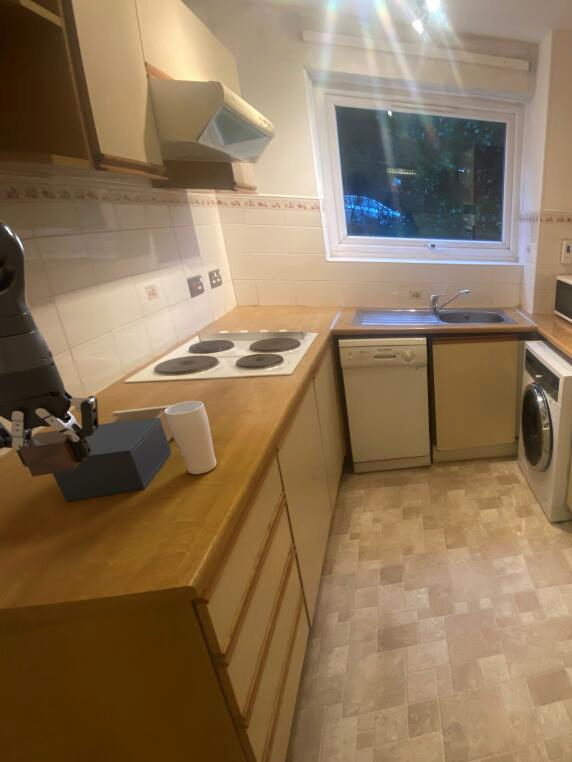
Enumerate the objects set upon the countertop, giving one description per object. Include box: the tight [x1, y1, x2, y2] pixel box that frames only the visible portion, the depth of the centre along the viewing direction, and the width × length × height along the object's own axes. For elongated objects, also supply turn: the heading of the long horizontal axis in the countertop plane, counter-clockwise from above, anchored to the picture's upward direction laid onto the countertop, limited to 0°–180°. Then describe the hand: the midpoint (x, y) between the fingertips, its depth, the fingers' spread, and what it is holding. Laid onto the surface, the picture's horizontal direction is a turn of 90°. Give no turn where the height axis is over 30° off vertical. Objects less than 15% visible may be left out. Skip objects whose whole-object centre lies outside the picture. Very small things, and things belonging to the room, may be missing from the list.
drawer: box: [105, 404, 173, 443], centre depth 101 cm, size 18×12×7 cm, turn 19°
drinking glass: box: [164, 400, 218, 475], centre depth 92 cm, size 7×7×15 cm
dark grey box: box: [52, 418, 172, 503], centre depth 91 cm, size 15×13×9 cm
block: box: [19, 430, 81, 478], centre depth 68 cm, size 5×5×5 cm
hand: (60, 462), depth 69 cm, fingers closed on block, 5 cm apart
